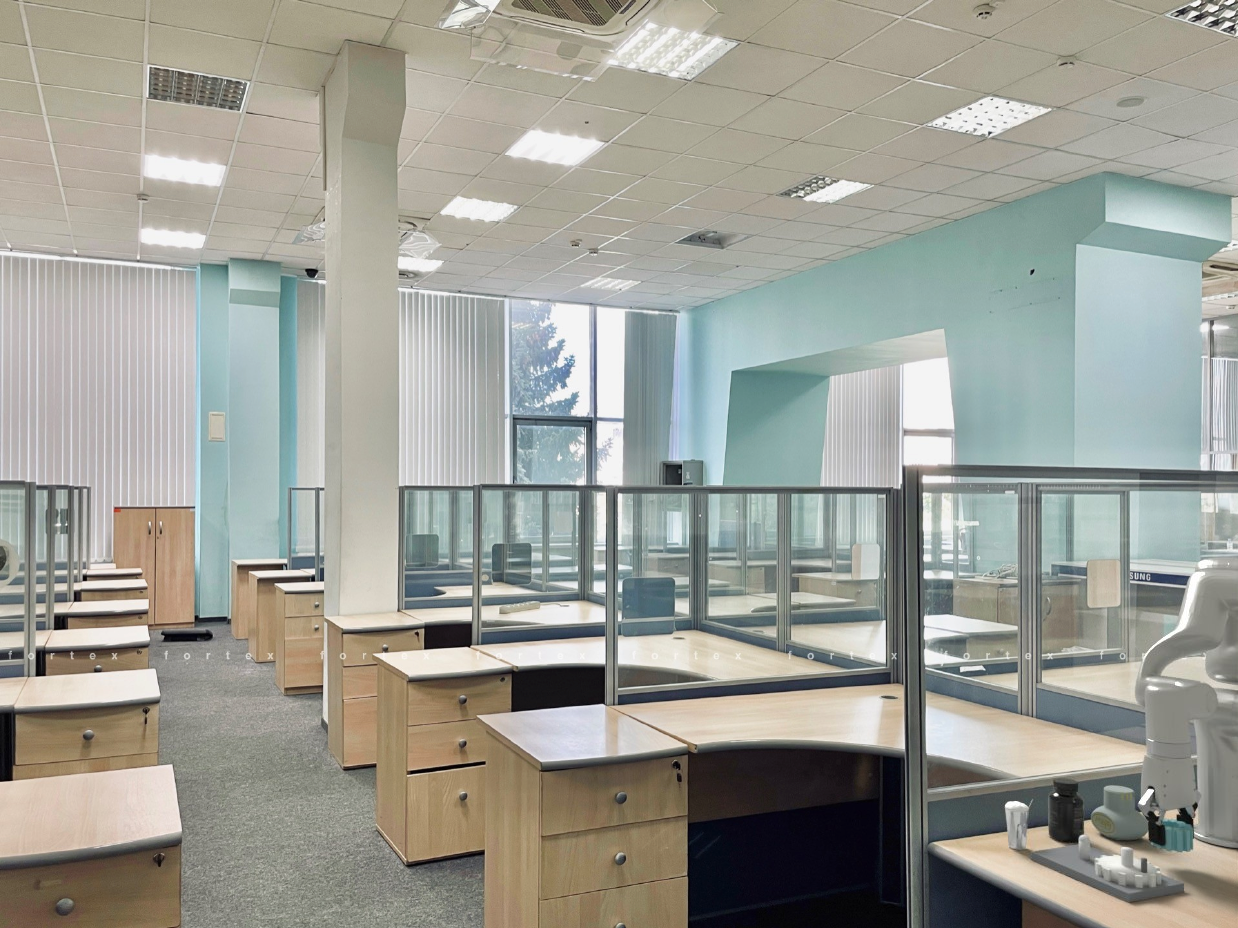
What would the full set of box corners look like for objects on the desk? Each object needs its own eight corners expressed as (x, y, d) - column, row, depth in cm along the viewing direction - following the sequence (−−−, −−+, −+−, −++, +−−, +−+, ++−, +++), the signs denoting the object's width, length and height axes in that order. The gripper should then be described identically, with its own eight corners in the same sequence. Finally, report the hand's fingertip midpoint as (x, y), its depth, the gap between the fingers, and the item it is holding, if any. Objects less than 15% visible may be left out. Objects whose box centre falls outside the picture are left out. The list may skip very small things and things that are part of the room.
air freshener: (1084, 829, 205) (1084, 782, 205) (1117, 826, 207) (1116, 780, 207) (1122, 846, 194) (1121, 797, 195) (1156, 843, 196) (1155, 795, 197)
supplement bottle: (1078, 834, 201) (1078, 777, 202) (1088, 844, 195) (1087, 786, 195) (1044, 831, 203) (1044, 775, 203) (1053, 842, 196) (1052, 783, 197)
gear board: (1083, 850, 191) (1083, 818, 192) (1184, 891, 171) (1183, 854, 171) (1031, 859, 186) (1030, 825, 186) (1128, 902, 166) (1128, 864, 166)
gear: (1167, 835, 188) (1167, 815, 188) (1201, 848, 181) (1201, 827, 181) (1141, 841, 185) (1141, 821, 185) (1175, 854, 178) (1175, 833, 178)
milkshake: (1035, 852, 190) (1035, 802, 190) (1007, 850, 191) (1007, 800, 191) (1030, 844, 194) (1030, 795, 195) (1003, 842, 195) (1002, 793, 196)
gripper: (1181, 738, 190) (1184, 827, 190) (1119, 749, 184) (1122, 840, 183) (1217, 748, 183) (1220, 839, 183) (1154, 758, 177) (1157, 854, 176)
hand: (1171, 839), depth 183 cm, fingers closed on gear, 7 cm apart
